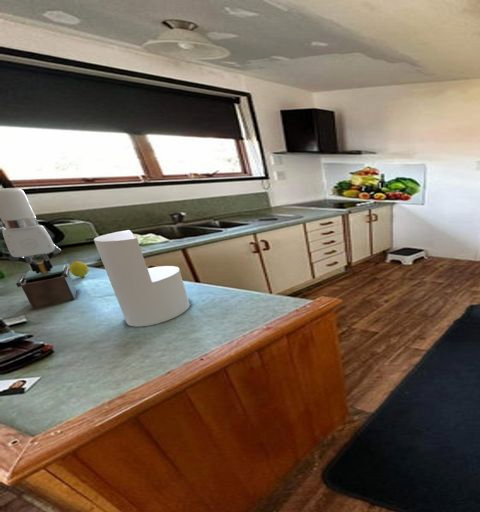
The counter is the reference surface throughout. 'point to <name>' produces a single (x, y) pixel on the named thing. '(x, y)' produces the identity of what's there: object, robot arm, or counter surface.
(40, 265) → the slide door
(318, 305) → the counter surface
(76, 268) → the lemon
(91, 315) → the counter surface
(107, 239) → the white stepped drum
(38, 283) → the storage box
